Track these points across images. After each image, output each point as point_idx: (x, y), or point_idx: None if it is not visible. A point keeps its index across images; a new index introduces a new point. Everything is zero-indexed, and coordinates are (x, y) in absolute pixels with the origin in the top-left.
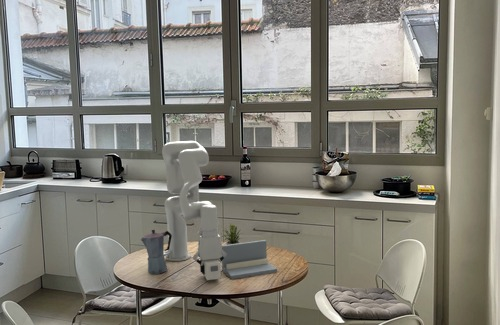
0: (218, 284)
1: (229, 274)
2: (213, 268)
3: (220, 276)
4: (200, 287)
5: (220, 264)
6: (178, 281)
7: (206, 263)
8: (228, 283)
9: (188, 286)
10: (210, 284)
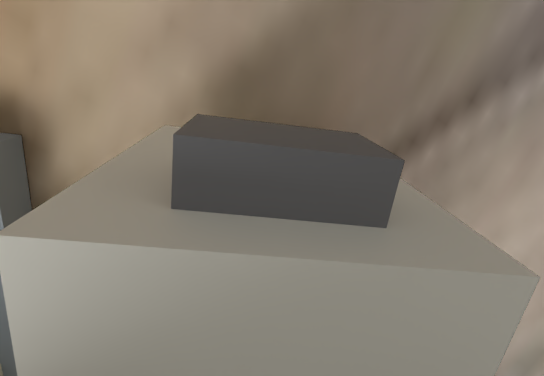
0: (236, 48)
1: (7, 220)
2: (320, 137)
3: (163, 130)
4: (462, 76)
5: (44, 202)
6: (520, 328)
7: (491, 365)
8: (98, 5)
9: (536, 176)
10: (321, 105)
